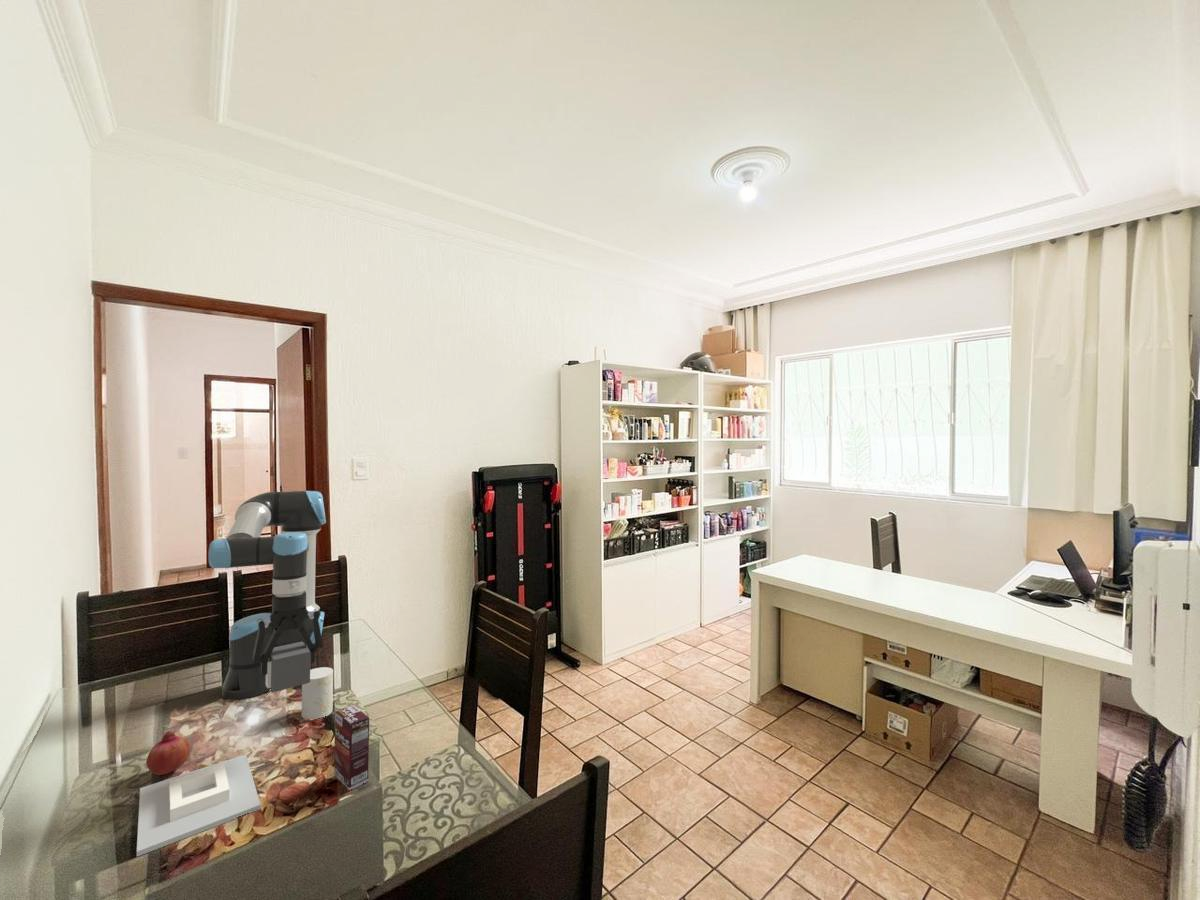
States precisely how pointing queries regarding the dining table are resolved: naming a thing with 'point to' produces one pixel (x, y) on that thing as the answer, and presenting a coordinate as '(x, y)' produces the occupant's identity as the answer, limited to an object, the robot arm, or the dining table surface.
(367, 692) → the dining table surface
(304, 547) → the robot arm
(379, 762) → the dining table surface
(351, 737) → the supplement box
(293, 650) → the plug
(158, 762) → the fruit
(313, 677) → the white cylinder
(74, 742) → the dining table surface
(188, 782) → the socket
